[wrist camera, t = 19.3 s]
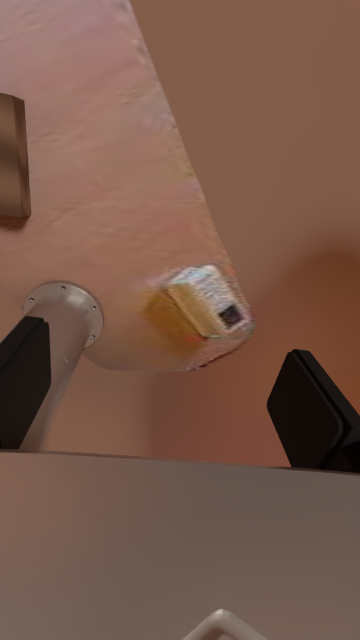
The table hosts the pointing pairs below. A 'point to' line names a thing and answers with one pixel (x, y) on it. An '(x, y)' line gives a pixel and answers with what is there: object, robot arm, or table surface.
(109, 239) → the table surface
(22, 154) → the walnut plinth
